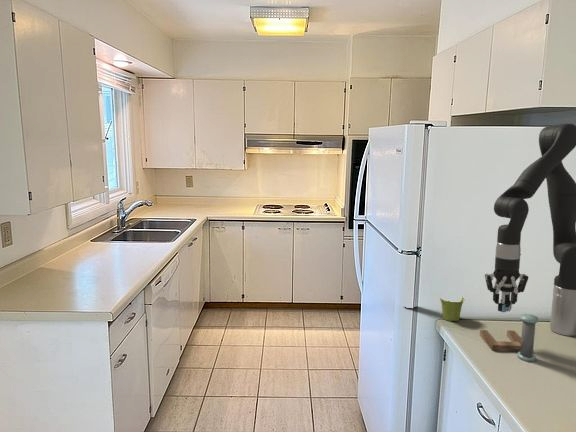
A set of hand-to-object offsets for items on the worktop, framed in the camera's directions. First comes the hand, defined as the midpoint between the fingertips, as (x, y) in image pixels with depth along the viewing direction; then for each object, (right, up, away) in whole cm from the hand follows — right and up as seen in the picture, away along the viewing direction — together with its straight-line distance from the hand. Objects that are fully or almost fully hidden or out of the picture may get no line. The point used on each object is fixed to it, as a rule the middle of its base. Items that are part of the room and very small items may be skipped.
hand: (504, 303), depth 151 cm
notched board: (0, -14, +1) cm, 14 cm away
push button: (+1, -3, +1) cm, 3 cm away
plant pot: (-10, -11, +23) cm, 27 cm away
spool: (+2, -16, -10) cm, 19 cm away
